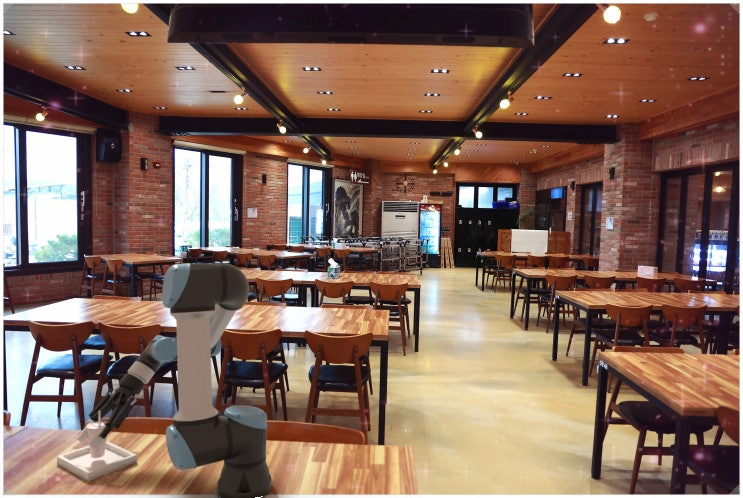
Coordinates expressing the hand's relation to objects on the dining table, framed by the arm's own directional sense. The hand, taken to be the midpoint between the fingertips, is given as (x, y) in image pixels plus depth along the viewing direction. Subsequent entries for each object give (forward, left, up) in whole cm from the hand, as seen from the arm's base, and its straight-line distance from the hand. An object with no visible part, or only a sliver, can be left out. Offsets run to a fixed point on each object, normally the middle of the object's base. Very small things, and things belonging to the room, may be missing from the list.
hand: (85, 444), depth 155 cm
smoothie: (0, -4, -5) cm, 6 cm away
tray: (0, -4, -7) cm, 8 cm away
